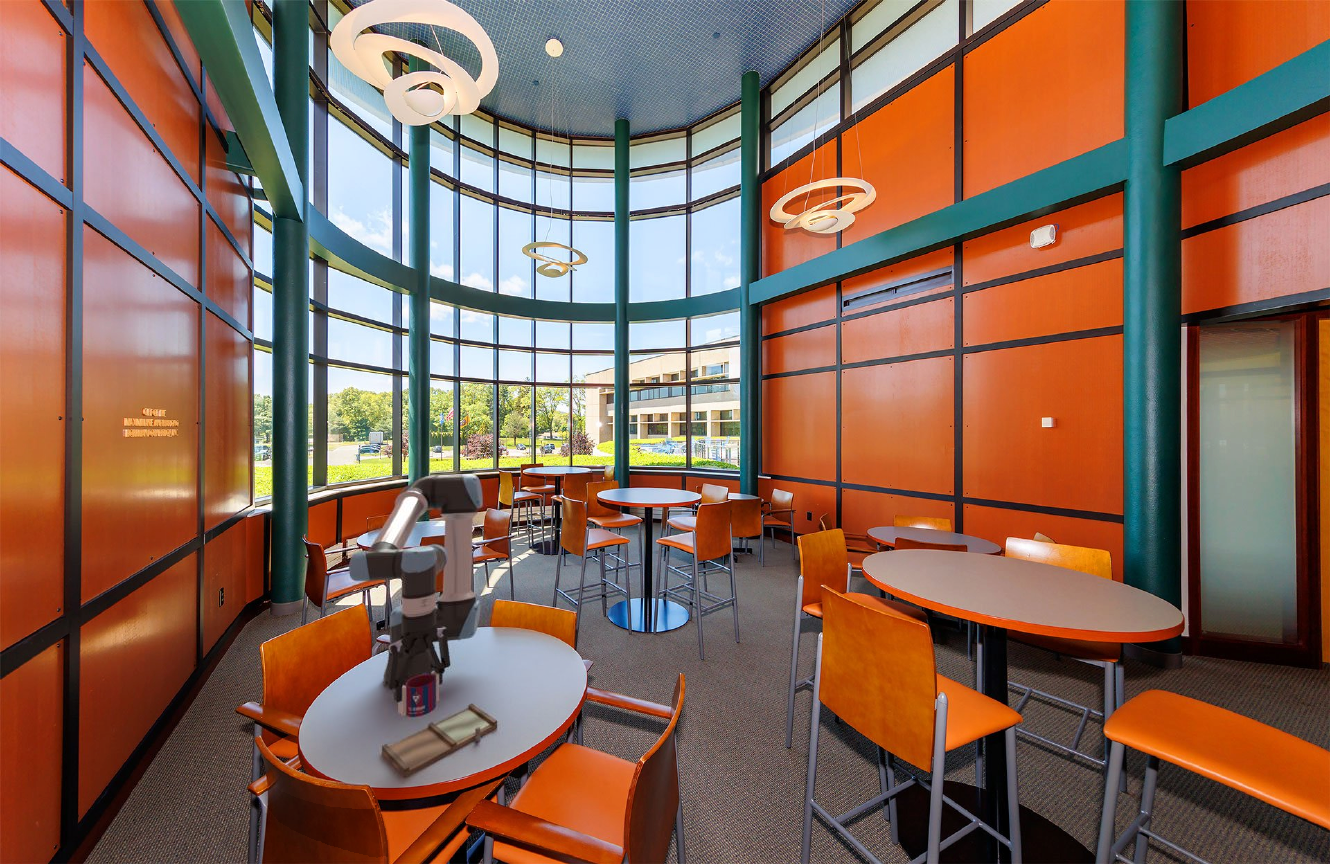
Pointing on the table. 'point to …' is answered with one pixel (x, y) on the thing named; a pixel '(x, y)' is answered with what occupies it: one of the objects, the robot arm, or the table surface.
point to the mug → (420, 695)
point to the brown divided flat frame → (438, 740)
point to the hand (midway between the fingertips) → (419, 705)
